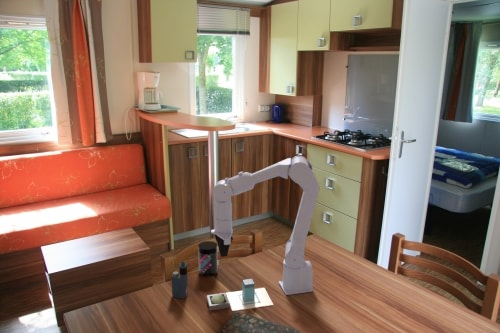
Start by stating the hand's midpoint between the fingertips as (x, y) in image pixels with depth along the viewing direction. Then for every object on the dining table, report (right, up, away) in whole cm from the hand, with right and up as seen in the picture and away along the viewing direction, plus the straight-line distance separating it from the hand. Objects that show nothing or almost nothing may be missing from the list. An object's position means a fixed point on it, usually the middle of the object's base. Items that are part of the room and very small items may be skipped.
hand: (223, 255), depth 134 cm
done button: (-1, -13, -9) cm, 15 cm away
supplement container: (-6, -8, +10) cm, 14 cm away
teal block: (+8, -12, -6) cm, 16 cm away
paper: (+9, -12, -6) cm, 16 cm away
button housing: (-1, -13, -9) cm, 16 cm away
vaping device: (-14, -12, -5) cm, 19 cm away
